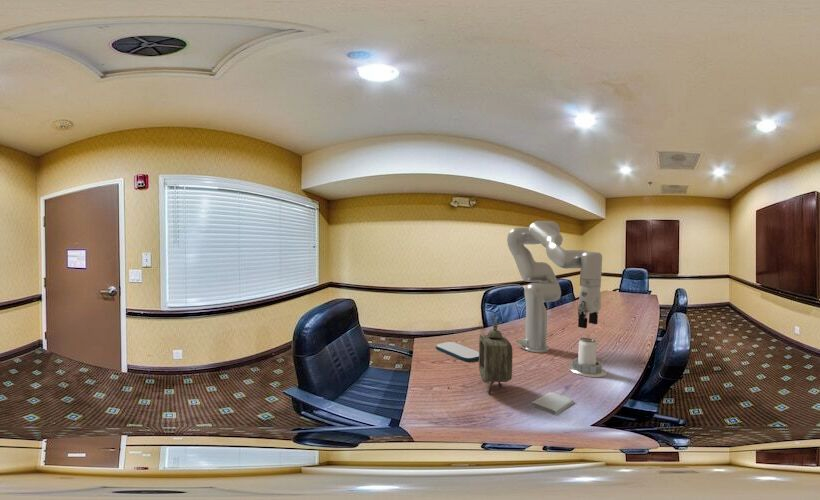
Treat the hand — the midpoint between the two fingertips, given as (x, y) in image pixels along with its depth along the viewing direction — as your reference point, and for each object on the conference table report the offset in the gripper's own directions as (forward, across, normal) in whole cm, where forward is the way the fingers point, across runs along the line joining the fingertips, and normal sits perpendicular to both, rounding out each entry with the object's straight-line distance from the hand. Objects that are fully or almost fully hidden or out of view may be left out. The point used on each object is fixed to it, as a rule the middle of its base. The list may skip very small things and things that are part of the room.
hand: (587, 325), depth 148 cm
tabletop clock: (+18, -43, +13) cm, 48 cm away
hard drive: (+18, -39, -6) cm, 43 cm away
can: (+18, 0, -1) cm, 18 cm away
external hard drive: (+20, -24, +46) cm, 56 cm away
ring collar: (+18, 0, -1) cm, 18 cm away
